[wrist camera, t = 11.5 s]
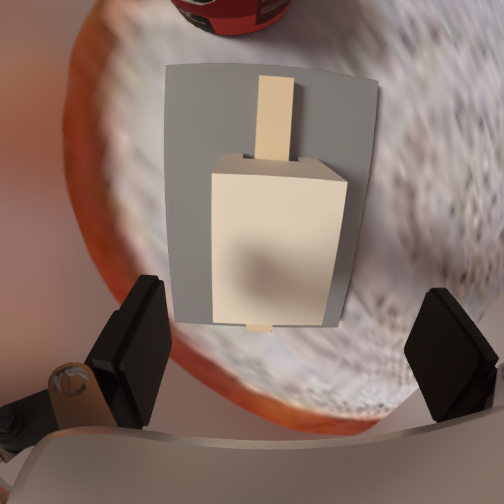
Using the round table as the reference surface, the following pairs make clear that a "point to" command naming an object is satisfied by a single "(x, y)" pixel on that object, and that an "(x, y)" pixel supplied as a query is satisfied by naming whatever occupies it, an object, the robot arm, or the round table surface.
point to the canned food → (232, 14)
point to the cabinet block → (273, 239)
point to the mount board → (230, 130)
